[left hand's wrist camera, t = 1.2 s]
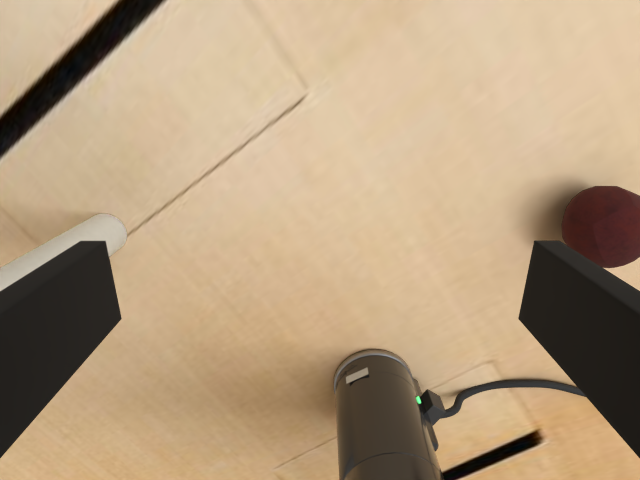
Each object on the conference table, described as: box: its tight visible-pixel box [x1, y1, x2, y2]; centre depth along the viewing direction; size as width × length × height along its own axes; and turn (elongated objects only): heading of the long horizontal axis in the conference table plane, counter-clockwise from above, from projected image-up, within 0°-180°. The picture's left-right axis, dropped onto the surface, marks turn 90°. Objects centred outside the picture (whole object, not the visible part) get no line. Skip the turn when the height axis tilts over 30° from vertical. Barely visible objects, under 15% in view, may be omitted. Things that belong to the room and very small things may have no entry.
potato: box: [562, 186, 640, 268], centre depth 37 cm, size 7×8×7 cm
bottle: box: [0, 214, 127, 291], centre depth 32 cm, size 4×4×20 cm
